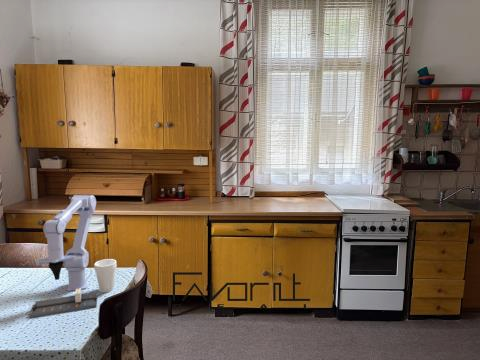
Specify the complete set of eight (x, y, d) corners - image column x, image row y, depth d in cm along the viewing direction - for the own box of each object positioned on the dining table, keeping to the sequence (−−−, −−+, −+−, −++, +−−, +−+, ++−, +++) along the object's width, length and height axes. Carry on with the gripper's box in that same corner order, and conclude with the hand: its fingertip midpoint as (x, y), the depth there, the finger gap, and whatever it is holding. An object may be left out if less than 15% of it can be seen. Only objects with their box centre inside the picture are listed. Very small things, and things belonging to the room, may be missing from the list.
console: (36, 303, 143) (35, 299, 143) (97, 294, 152) (97, 290, 152) (30, 318, 132) (29, 313, 132) (96, 307, 141) (96, 302, 140)
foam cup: (94, 295, 151) (92, 267, 150) (97, 286, 160) (95, 260, 158) (116, 292, 154) (115, 265, 152) (118, 284, 163) (117, 258, 161)
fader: (76, 297, 145) (75, 288, 145) (81, 296, 146) (81, 287, 146) (75, 302, 141) (74, 293, 140) (80, 301, 142) (80, 292, 141)
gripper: (33, 252, 136) (35, 285, 137) (73, 248, 141) (75, 279, 143) (37, 247, 142) (39, 278, 144) (75, 244, 148) (76, 273, 149)
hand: (57, 278), depth 144 cm, fingers closed
